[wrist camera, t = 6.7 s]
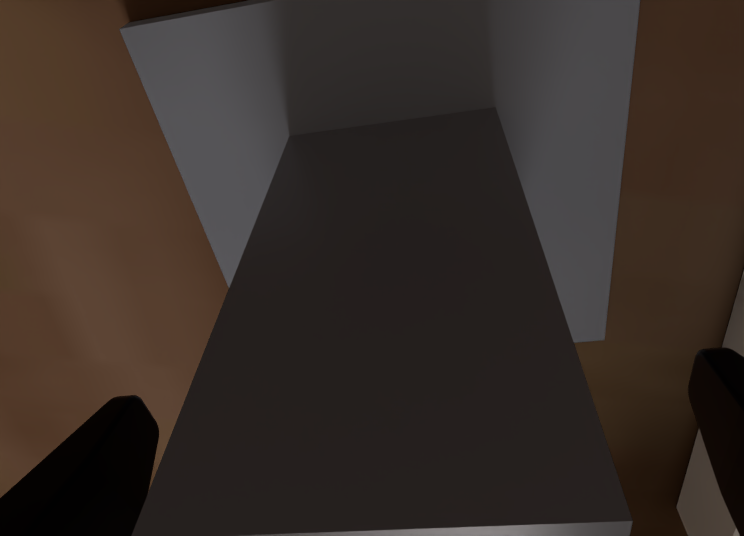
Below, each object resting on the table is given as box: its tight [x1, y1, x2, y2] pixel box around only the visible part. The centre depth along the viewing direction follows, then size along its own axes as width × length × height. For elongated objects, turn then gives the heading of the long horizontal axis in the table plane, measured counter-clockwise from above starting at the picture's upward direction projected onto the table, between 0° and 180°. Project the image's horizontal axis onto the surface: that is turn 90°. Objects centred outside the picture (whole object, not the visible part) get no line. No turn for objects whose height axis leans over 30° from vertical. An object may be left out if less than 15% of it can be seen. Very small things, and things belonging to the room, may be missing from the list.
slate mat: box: [119, 0, 640, 343], centre depth 14 cm, size 10×10×1 cm
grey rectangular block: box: [131, 107, 633, 536], centre depth 10 cm, size 4×4×9 cm
